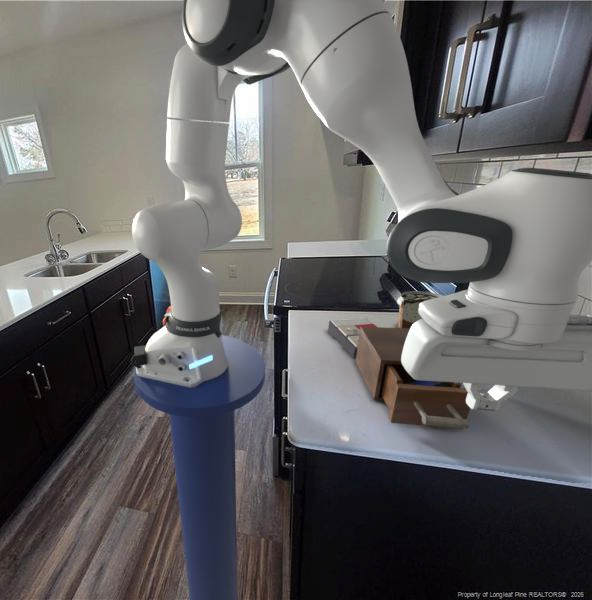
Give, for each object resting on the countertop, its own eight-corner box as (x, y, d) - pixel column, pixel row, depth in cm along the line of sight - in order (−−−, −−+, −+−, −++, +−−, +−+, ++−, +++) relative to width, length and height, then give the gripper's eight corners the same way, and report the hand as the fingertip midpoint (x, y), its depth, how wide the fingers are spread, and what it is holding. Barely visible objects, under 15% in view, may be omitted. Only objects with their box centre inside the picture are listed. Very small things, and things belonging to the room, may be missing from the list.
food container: (425, 320, 96) (432, 289, 92) (440, 329, 90) (448, 296, 86) (384, 322, 96) (389, 291, 93) (395, 331, 91) (401, 299, 87)
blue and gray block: (399, 398, 62) (404, 407, 60) (394, 389, 61) (398, 398, 59) (444, 381, 59) (451, 390, 56) (438, 372, 58) (445, 381, 56)
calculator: (356, 346, 77) (328, 318, 91) (353, 360, 79) (327, 331, 93) (400, 343, 78) (366, 315, 91) (396, 357, 79) (363, 328, 93)
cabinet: (444, 406, 62) (456, 364, 58) (373, 400, 65) (381, 360, 61) (412, 364, 75) (421, 328, 72) (355, 361, 78) (360, 326, 74)
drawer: (480, 452, 51) (494, 413, 48) (401, 443, 53) (410, 406, 50) (427, 383, 67) (435, 351, 64) (368, 379, 70) (373, 348, 67)
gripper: (595, 305, 38) (556, 398, 43) (406, 302, 43) (389, 387, 48) (653, 328, 33) (600, 432, 38) (427, 322, 37) (406, 416, 42)
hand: (481, 407), depth 43 cm, fingers closed
